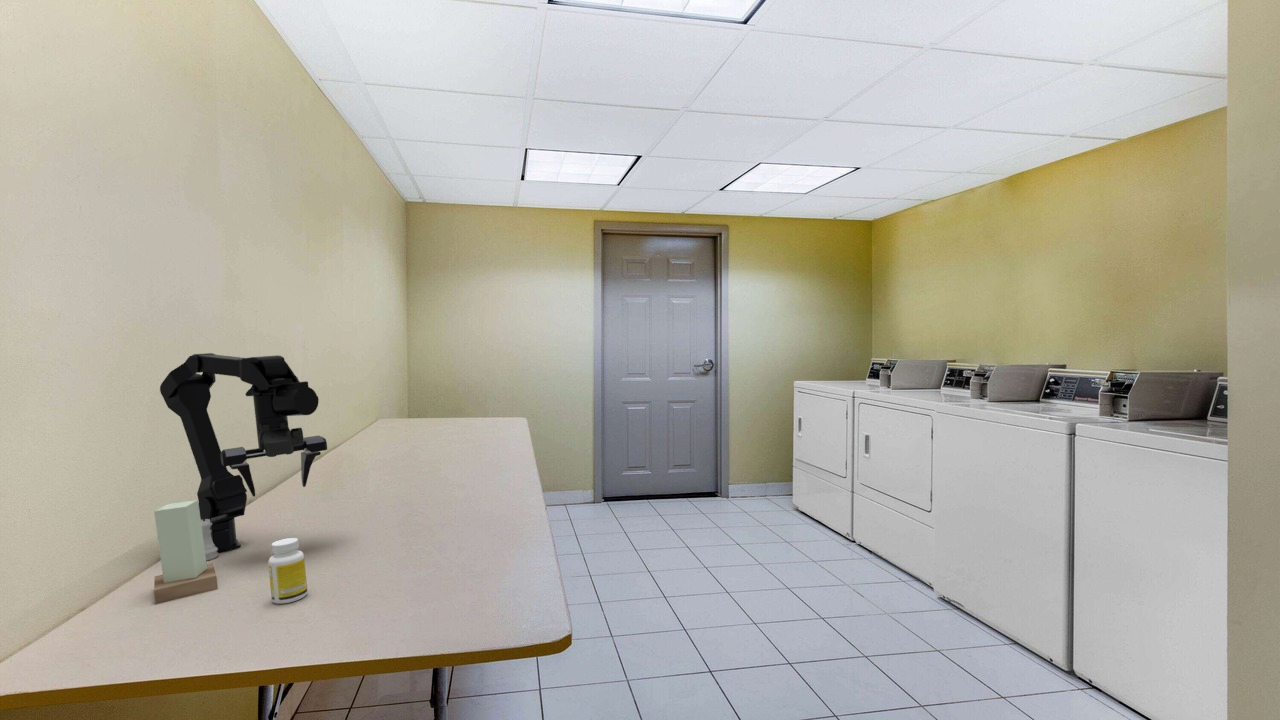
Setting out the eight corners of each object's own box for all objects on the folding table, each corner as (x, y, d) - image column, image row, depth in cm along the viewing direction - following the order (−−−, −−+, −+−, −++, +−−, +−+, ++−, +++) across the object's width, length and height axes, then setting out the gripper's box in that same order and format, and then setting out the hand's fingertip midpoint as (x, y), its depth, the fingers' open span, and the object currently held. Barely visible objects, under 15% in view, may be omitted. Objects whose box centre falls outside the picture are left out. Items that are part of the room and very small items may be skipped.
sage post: (176, 573, 120) (167, 504, 119) (207, 568, 121) (198, 499, 120) (164, 582, 115) (154, 511, 114) (195, 577, 116) (186, 506, 115)
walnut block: (156, 592, 119) (154, 576, 119) (214, 578, 124) (212, 563, 124) (155, 607, 112) (154, 590, 111) (218, 592, 117) (216, 575, 117)
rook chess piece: (205, 562, 132) (202, 524, 132) (188, 562, 133) (184, 524, 133) (224, 554, 137) (220, 517, 136) (206, 554, 138) (203, 517, 137)
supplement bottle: (315, 592, 112) (309, 537, 111) (288, 606, 107) (283, 547, 106) (291, 590, 114) (285, 535, 113) (264, 603, 109) (258, 546, 108)
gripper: (221, 426, 121) (230, 508, 122) (329, 412, 132) (336, 487, 133) (216, 422, 130) (225, 498, 131) (317, 409, 141) (325, 480, 142)
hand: (279, 491), depth 134 cm, fingers open, 9 cm apart
